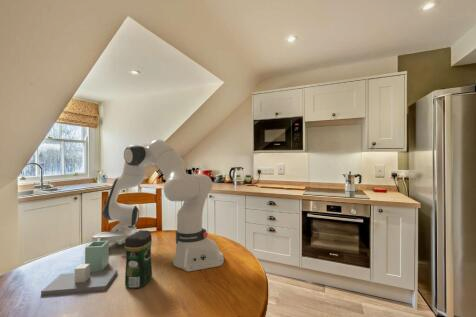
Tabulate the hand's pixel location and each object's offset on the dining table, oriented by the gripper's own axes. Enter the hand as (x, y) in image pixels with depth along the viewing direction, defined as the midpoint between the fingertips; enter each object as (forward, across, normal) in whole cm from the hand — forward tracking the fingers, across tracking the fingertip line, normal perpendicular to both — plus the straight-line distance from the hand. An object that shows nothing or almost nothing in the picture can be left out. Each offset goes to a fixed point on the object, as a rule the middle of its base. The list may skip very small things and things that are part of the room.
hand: (109, 243), depth 105 cm
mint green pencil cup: (+12, 0, +6) cm, 13 cm away
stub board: (+24, 0, +6) cm, 25 cm away
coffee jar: (+26, +20, +6) cm, 33 cm away
